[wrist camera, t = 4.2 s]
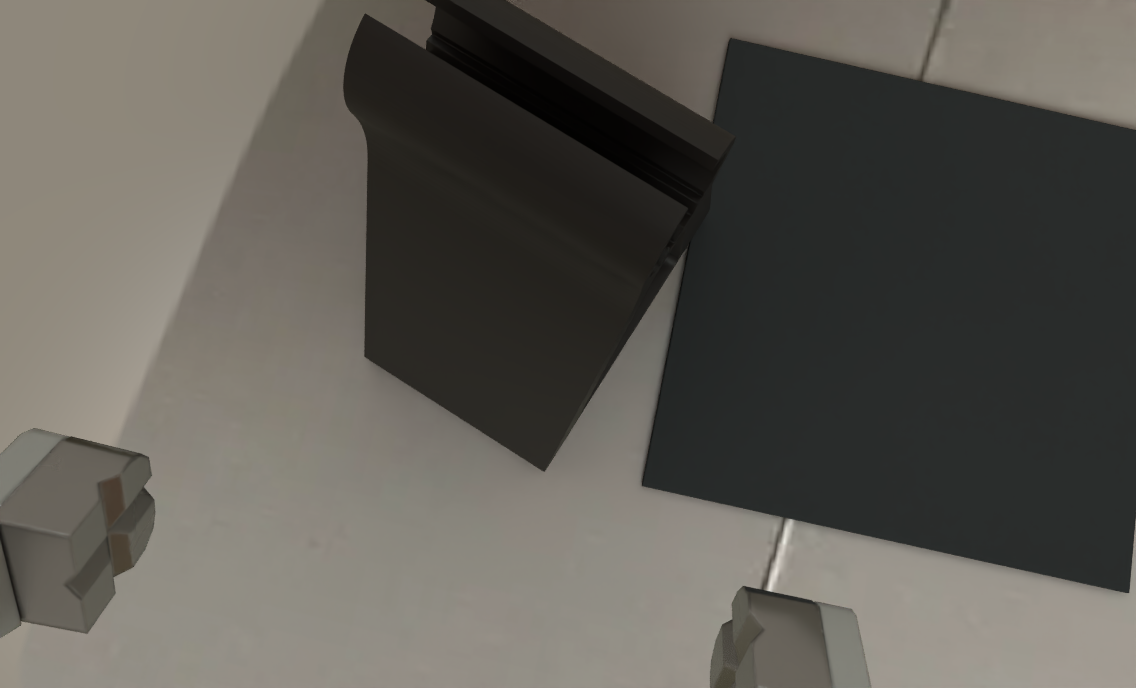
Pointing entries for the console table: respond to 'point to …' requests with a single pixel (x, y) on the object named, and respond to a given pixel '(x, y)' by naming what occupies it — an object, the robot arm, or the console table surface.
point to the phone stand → (516, 213)
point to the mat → (911, 320)
